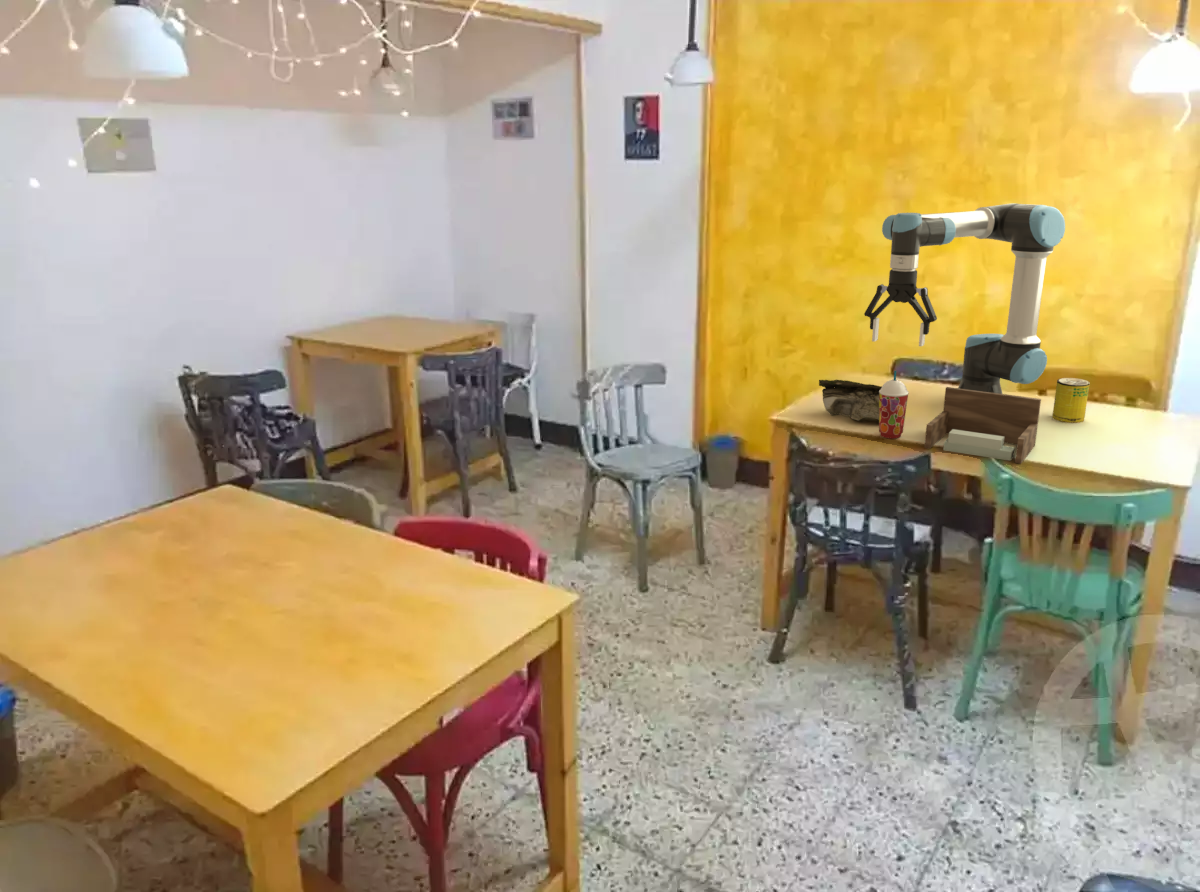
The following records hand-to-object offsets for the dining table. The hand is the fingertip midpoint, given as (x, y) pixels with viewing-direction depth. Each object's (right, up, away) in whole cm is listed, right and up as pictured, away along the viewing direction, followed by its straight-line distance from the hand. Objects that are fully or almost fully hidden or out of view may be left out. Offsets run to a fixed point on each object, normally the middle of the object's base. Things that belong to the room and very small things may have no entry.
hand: (897, 343), depth 271 cm
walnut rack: (+23, -30, -3) cm, 38 cm away
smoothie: (+1, -27, +9) cm, 29 cm away
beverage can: (+60, -22, +21) cm, 67 cm away
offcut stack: (+20, -32, -7) cm, 39 cm away
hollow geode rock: (-4, -21, +28) cm, 35 cm away
